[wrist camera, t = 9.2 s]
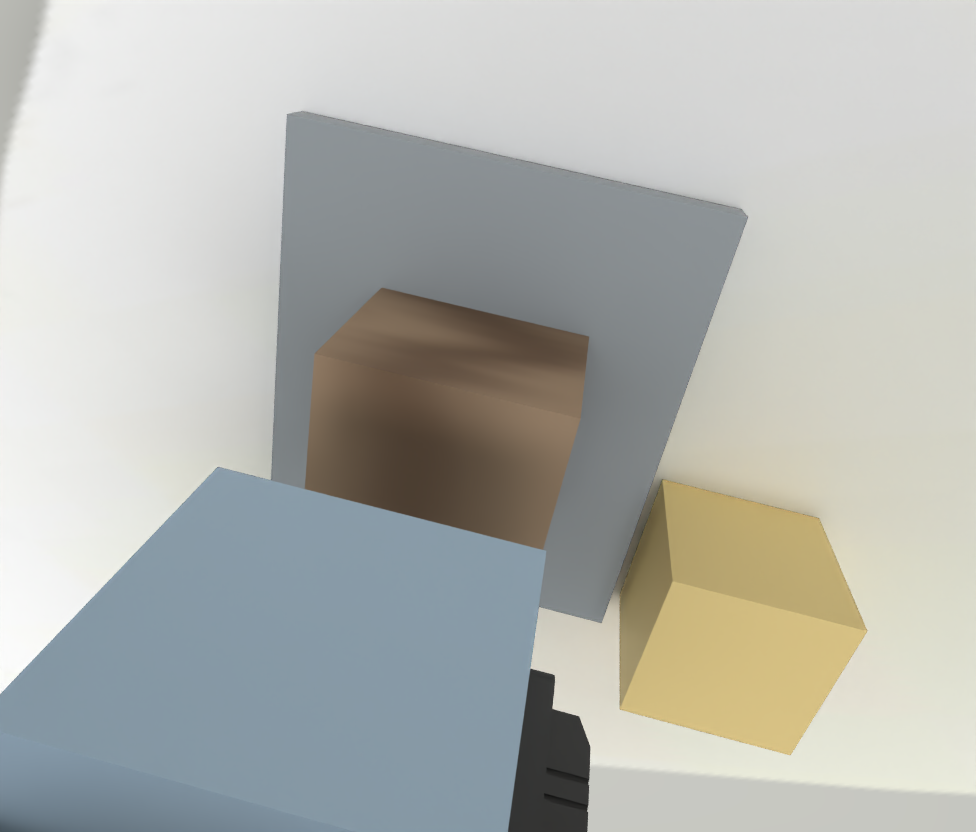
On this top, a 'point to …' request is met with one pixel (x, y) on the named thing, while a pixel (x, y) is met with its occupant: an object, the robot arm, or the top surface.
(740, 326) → the top surface
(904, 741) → the top surface
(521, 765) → the robot arm
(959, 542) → the top surface
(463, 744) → the blue brick
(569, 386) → the walnut brick
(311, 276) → the slate board
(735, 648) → the ochre brick
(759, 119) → the top surface
